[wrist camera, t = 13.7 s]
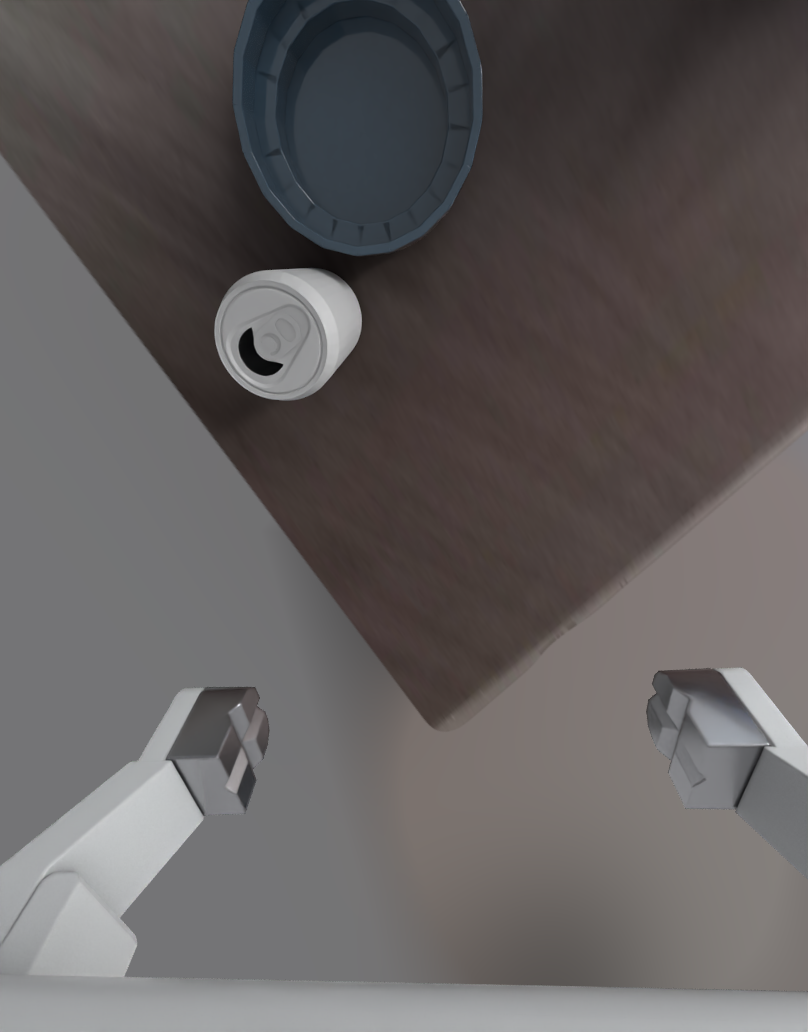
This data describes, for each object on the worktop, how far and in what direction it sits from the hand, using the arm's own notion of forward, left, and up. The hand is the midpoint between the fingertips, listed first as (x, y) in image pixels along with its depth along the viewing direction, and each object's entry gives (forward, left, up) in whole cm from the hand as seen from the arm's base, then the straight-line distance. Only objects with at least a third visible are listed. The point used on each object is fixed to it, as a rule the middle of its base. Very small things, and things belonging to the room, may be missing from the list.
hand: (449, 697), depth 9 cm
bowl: (+3, -15, -29) cm, 33 cm away
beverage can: (+8, -5, -29) cm, 31 cm away
